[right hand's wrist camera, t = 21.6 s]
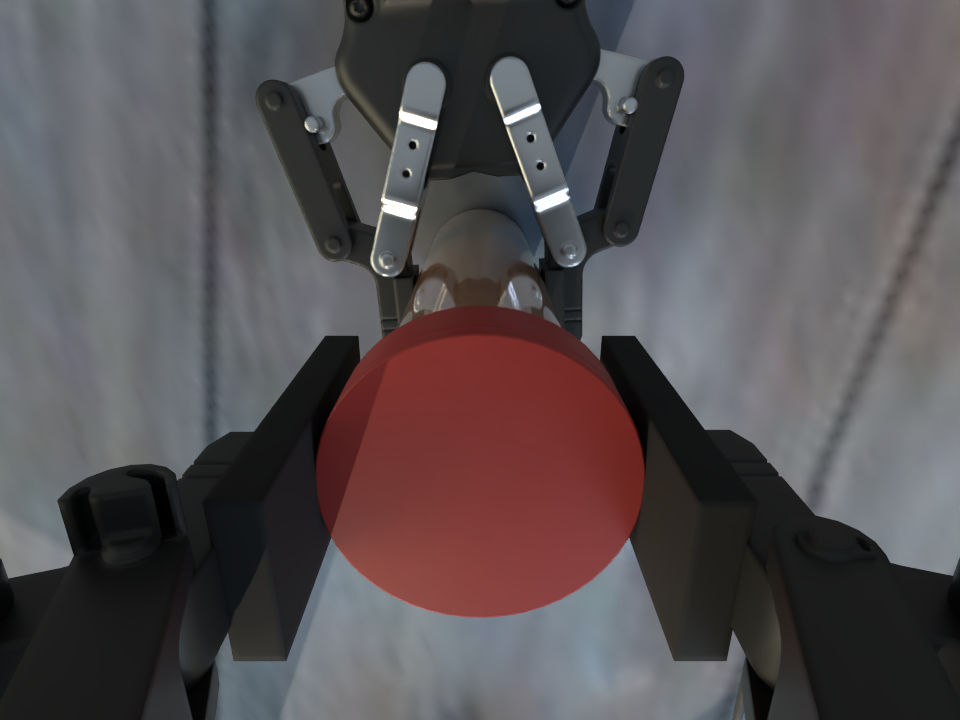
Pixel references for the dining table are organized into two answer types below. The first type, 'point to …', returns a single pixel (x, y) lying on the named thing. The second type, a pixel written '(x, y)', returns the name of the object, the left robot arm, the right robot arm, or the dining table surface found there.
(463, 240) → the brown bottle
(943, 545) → the dining table surface
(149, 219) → the dining table surface
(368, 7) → the left robot arm
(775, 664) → the right robot arm
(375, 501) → the lid
